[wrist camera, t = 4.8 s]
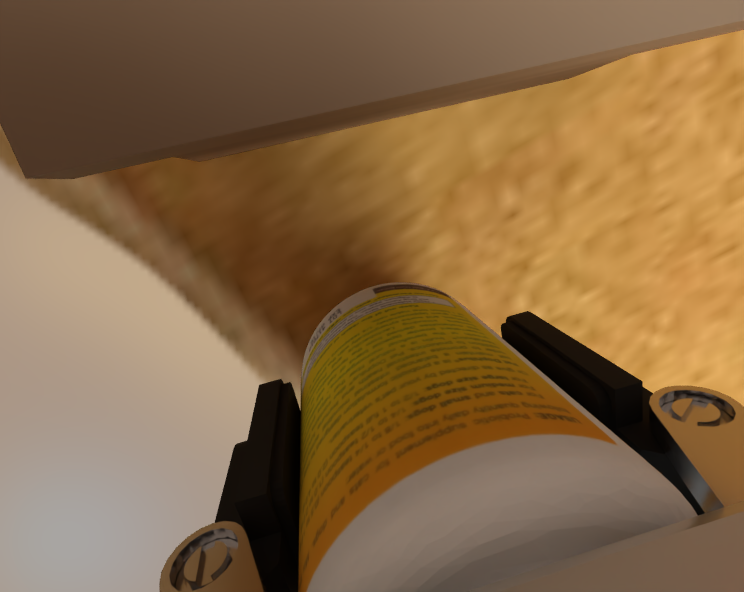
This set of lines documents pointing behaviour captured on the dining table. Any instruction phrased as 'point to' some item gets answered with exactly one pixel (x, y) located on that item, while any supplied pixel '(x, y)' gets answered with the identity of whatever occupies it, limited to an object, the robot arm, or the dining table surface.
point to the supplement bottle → (451, 455)
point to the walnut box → (290, 67)
